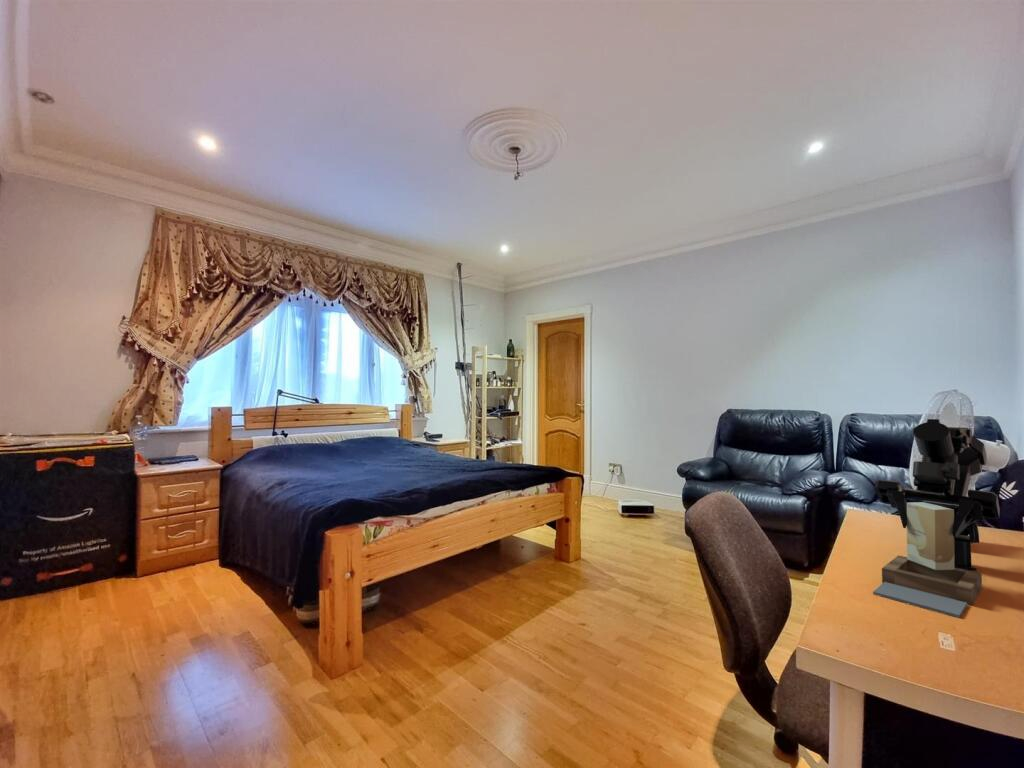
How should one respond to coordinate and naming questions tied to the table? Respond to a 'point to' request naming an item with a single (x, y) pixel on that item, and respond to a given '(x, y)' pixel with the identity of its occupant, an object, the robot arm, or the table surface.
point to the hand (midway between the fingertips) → (928, 531)
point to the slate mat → (921, 599)
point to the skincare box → (930, 535)
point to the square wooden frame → (934, 579)
